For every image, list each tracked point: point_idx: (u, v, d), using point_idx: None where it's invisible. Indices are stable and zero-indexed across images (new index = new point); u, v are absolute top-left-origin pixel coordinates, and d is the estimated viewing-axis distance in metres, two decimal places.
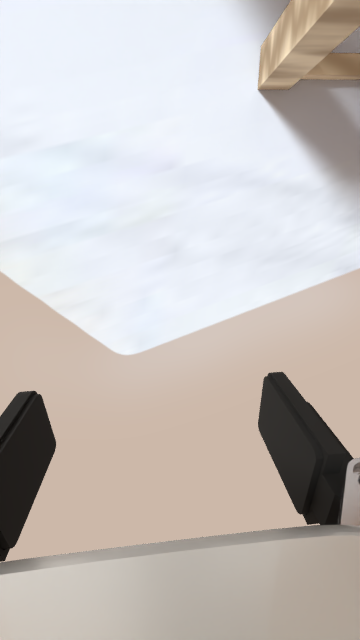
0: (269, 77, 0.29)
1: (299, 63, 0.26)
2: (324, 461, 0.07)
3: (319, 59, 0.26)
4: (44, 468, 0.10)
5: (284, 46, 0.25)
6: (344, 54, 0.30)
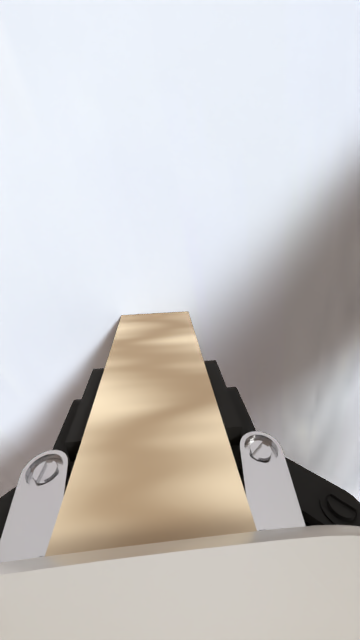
0: None
1: None
2: None
3: None
4: None
5: (127, 388, 0.09)
6: None
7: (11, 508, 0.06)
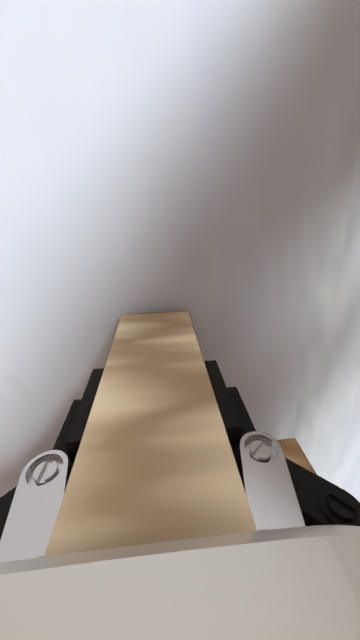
0: None
1: None
2: None
3: None
4: None
5: (126, 387, 0.09)
6: None
7: (11, 508, 0.06)
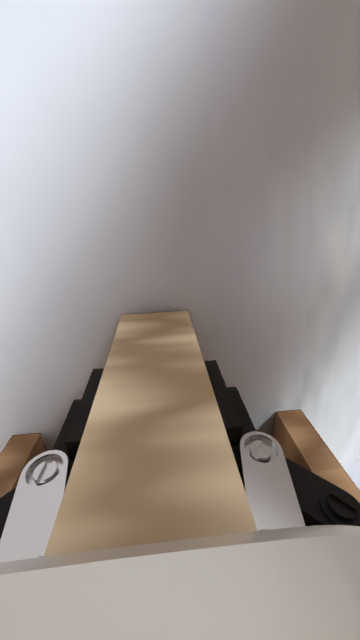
0: None
1: None
2: None
3: None
4: None
5: (126, 386, 0.09)
6: None
7: (11, 508, 0.06)
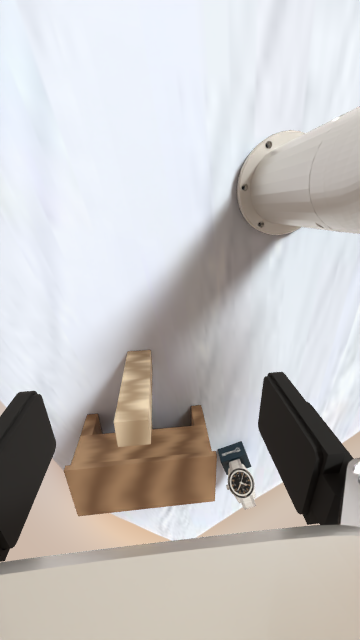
0: (125, 362, 0.41)
1: None
2: (324, 461, 0.07)
3: None
4: (44, 468, 0.10)
5: (129, 374, 0.38)
6: None
7: None
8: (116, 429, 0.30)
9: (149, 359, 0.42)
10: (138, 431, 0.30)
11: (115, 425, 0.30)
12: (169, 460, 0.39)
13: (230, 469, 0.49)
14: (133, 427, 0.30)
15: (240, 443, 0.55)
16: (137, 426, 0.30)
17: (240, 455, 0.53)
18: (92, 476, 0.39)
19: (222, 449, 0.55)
